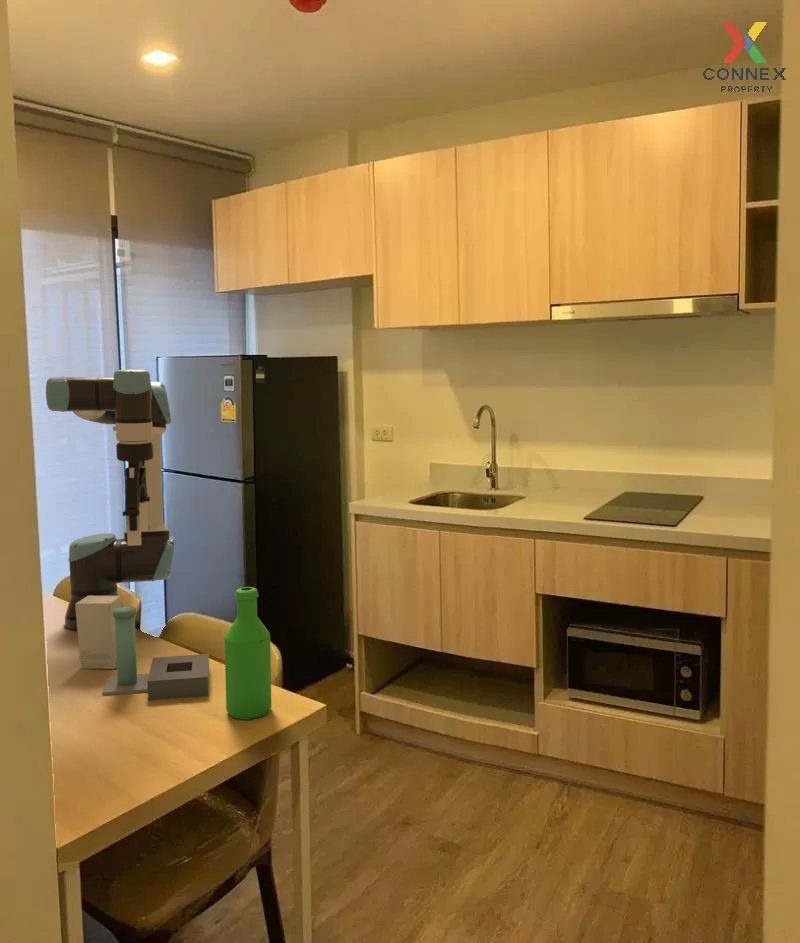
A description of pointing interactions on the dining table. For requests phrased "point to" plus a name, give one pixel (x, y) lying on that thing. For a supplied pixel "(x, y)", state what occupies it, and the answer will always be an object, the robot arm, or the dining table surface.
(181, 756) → the dining table surface
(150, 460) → the robot arm
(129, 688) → the coaster
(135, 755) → the dining table surface
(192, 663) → the socket block
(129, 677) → the plug
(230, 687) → the bottle
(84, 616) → the skincare box
